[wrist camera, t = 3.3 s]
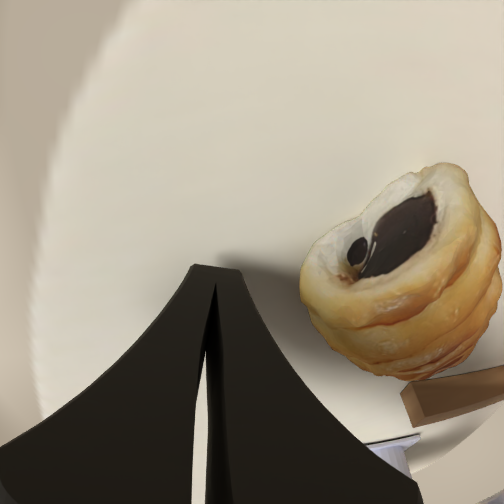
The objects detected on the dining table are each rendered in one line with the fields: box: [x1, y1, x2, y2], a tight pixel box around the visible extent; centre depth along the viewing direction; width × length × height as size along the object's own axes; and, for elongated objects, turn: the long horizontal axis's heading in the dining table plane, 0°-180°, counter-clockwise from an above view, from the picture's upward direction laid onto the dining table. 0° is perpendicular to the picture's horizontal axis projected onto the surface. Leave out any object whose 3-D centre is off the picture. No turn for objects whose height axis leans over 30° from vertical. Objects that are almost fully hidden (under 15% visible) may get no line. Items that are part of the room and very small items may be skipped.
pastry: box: [300, 163, 502, 381], centre depth 9 cm, size 9×7×4 cm
